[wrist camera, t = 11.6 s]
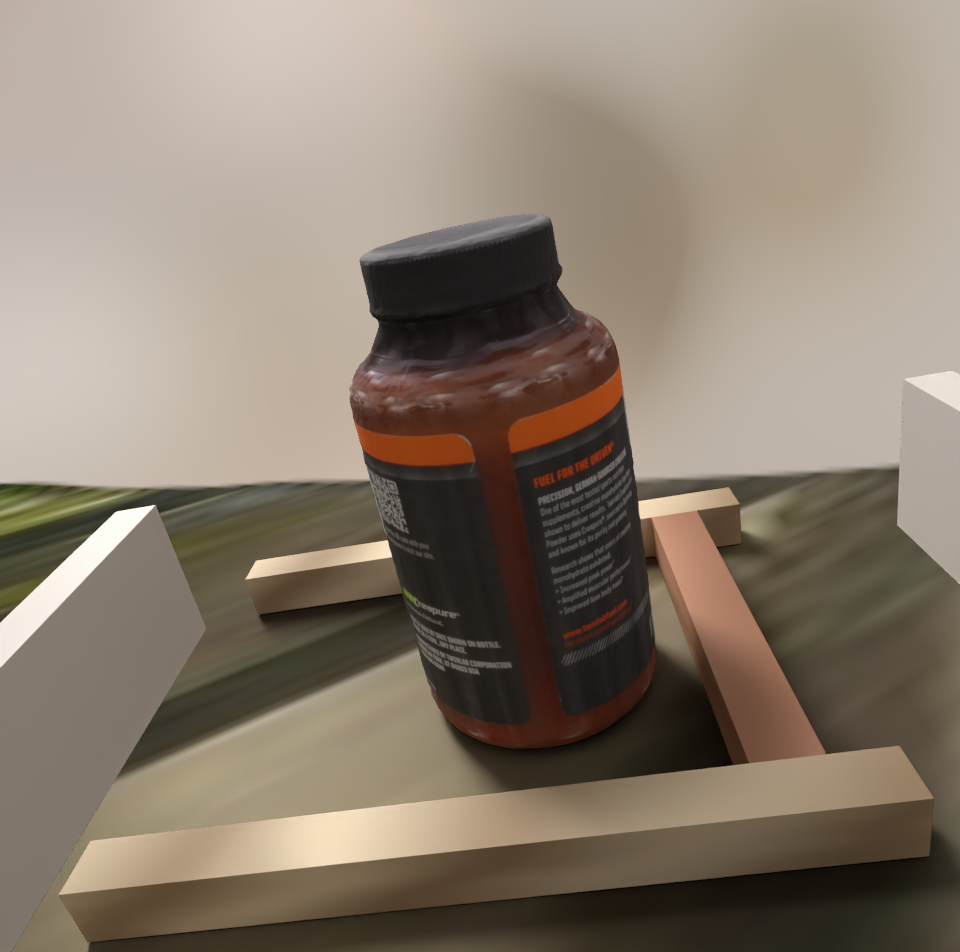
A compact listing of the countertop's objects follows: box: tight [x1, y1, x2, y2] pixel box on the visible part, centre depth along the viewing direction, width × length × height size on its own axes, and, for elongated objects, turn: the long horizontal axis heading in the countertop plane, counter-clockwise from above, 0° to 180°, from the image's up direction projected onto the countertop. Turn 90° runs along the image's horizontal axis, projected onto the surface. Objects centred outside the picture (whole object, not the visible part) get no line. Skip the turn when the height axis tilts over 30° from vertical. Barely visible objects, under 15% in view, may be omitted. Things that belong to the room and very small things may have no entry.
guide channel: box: [59, 487, 934, 942], centre depth 19 cm, size 16×12×1 cm
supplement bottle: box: [350, 214, 656, 749], centre depth 17 cm, size 6×6×11 cm
